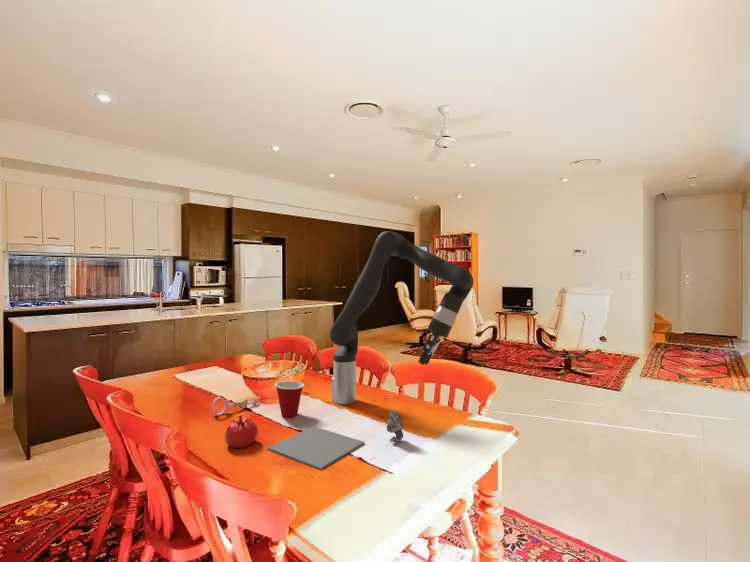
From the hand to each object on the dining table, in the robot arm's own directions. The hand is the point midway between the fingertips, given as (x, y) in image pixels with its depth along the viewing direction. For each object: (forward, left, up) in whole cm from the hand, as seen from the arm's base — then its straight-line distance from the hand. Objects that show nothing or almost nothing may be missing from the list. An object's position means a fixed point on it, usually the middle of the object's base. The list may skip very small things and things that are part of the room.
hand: (422, 363), depth 138 cm
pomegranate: (-40, -45, -22) cm, 64 cm away
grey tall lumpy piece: (-1, -16, -22) cm, 27 cm away
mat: (-19, -33, -22) cm, 44 cm away
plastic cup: (-46, -19, -22) cm, 55 cm away
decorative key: (-67, -27, -22) cm, 76 cm away
